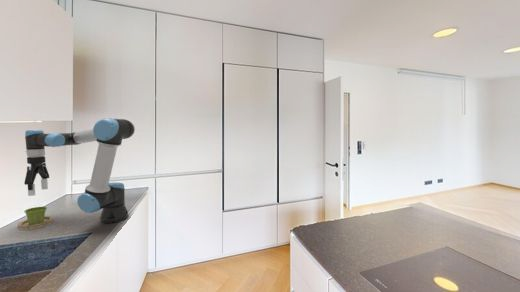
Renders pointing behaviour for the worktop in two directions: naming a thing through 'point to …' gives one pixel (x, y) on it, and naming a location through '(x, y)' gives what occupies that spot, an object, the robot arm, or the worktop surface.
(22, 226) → the round wooden tray
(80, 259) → the worktop surface
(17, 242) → the worktop surface
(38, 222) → the plant pot
